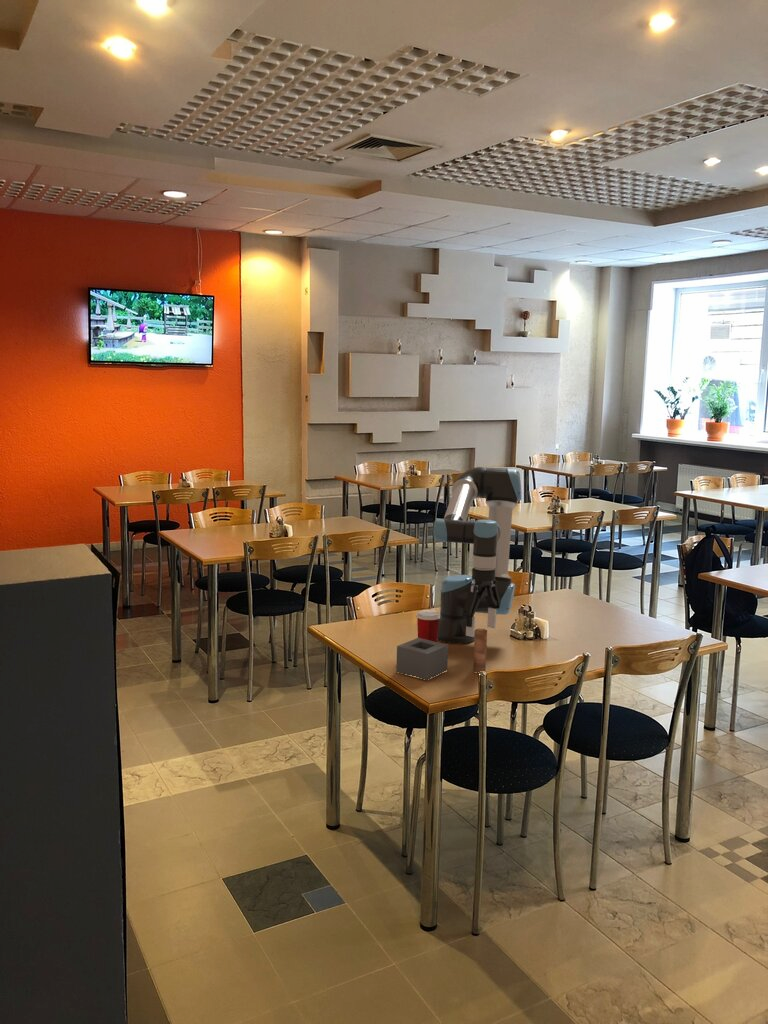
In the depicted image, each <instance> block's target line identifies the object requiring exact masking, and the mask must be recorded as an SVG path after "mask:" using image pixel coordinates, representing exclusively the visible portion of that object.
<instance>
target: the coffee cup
mask: <svg viewBox="0 0 768 1024" xmlns="http://www.w3.org/2000/svg"><path fill="white" fill-rule="evenodd" d="M415 618H416V620H417V621H416V622H417V623H416V624H417V638H421V639H426V640H430V641H434V642H438V640H437V635H438V624H439V618H440V613H439V612H438V611H436V610H431V609H423V610H419V611H418V612H417V613H416V615H415Z"/></svg>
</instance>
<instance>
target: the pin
mask: <svg viewBox="0 0 768 1024" xmlns="http://www.w3.org/2000/svg"><path fill="white" fill-rule="evenodd" d="M487 641H488V630H487V629H485V628H475V640H474V641H473V642H474V645H473V666H472V668H473V669H472V672H473V671H474V672H473V673H475V672H477V673H476V674H479V673H478V672H480V671H485V672H486V666H487V645H488V644H487Z"/></svg>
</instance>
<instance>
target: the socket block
mask: <svg viewBox="0 0 768 1024" xmlns="http://www.w3.org/2000/svg"><path fill="white" fill-rule="evenodd" d="M448 663H449V644H447V643H442V642H438V641H437V642H434V641H430V640H426V639H421V638H418V637H417V638H414V639H412V640H411V639H410V640H407V642H404V643H401V644H399V645H397V646H396V665H395V666H396V672H399V673H403V674H407V675H412V676H416V677H419V678H422V679H425V680H428V679H430V678H431V677H434V676H436V675H438V674H440V673H442V672H444V671H446V670H447V671H448V666H449V665H448ZM396 672H395V673H396ZM399 673H398V674H399ZM403 674H402V675H403ZM407 675H406V676H407ZM434 678H435V677H434ZM430 680H431V679H430ZM428 681H429V680H428Z"/></svg>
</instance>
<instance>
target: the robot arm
mask: <svg viewBox="0 0 768 1024" xmlns="http://www.w3.org/2000/svg"><path fill="white" fill-rule="evenodd" d="M521 482H522V481H521V474H520V471H519V470H518V469H515V468H508V467H485V466H484V467H482V466H477V467H473V468H470V469H468V470H465V471H464V472H462V473H461V474H460V475H458V477H457V478H456V479H455V480H454V482H453V484H452V486H451V497H450V501H449V503H448V506H447V509H446V511H445V514H444V517H443V518H441V519H440V518H439V519H436V520H434V523H433V529H432V530H433V532H432V533H433V539H434V541H437V542H441V543H442V542H443V543H457V544H470V545H473V546H472V547H473V548H472V549H473V550H472V567H473V568H471V575H470V574H456V575H450V576H447V577H444V579H442V581H441V586H440V591H439V592H440V604H439V605H440V608H439V610H440V612H439V616H440V618H439V624H438V635H437V639H438V640H437V641H439V640H441V641H440V642H442V641H445V642H444V643H446V642H450V643H449V644H455V643H461V644H469V643H472V642H474V640H475V629H476V627H475V626H476V625H475V624H476V616H475V613H477V614H487V625H486V626H487V628H489V629H496V628H497V627H496V625H497V623H496V622H497V615H502V616H503V615H505V616H506V615H507V614H509V613H510V611H511V609H512V606H513V602H514V596H515V589H516V584H515V583H514V582H512V577H511V576H510V574H509V562H510V561H509V560H510V549H511V547H510V545H511V536H512V533H511V532H512V521H513V519H512V518H513V510H514V509H515V508H516V507H518V502H519V501H521V500H522V483H521ZM475 499H484V500H485V505H486V506H487V507H488V519H476V520H475V521H474V520H473V521H472V520H467V518H468V516H469V513H470V510H471V506H472V503H473V501H474V500H475ZM468 642H469V643H468Z"/></svg>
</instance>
